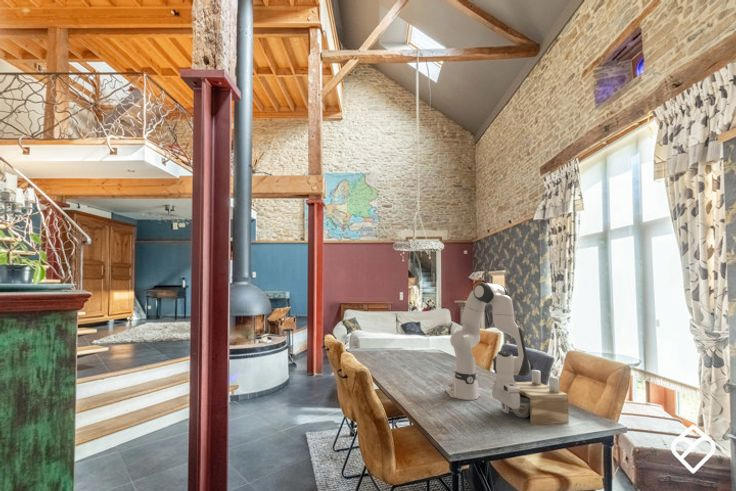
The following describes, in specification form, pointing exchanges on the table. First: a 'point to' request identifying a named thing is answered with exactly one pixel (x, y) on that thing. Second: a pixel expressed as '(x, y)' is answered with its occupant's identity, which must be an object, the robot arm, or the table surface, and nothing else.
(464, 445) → the table surface
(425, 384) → the table surface
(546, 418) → the wooden bridge shelf
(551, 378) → the grey upright piece
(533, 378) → the rounded upright piece
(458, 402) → the table surface
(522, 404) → the teacup
